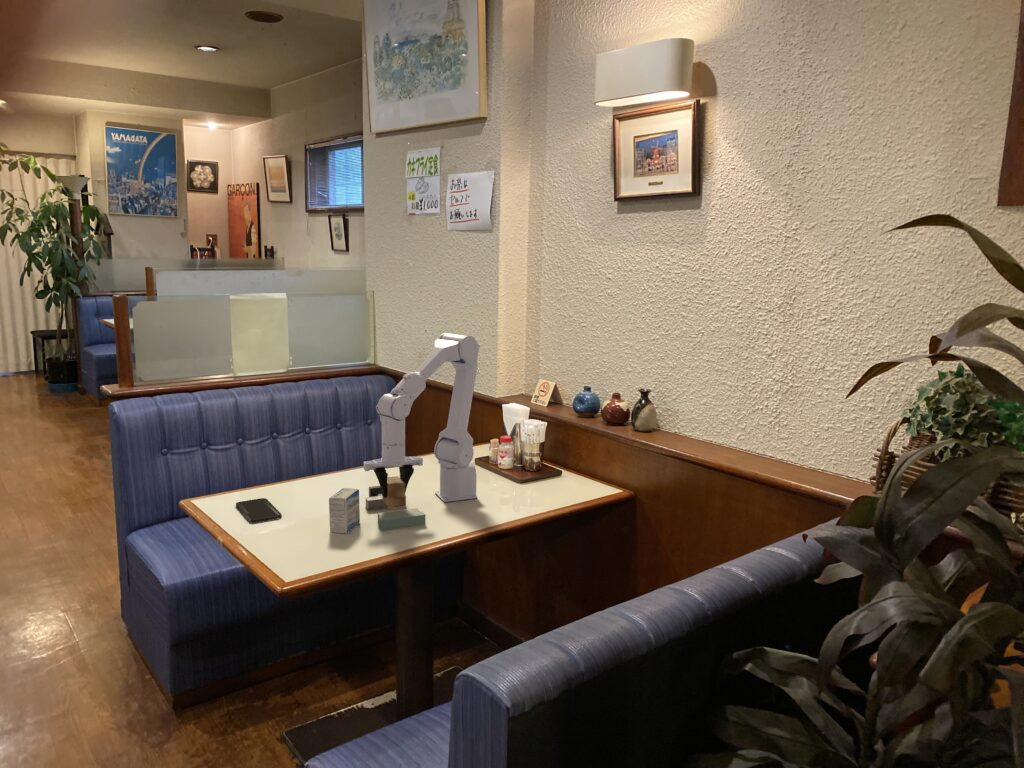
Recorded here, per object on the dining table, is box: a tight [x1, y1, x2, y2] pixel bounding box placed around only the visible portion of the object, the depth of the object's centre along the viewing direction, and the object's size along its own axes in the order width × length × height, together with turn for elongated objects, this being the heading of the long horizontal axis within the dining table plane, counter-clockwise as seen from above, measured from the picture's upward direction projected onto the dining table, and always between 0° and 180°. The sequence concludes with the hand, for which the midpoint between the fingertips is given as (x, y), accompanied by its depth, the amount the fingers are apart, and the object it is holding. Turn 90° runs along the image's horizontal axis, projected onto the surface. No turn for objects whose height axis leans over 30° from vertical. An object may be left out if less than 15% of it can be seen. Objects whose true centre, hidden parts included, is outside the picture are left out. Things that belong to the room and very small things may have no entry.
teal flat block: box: [377, 507, 426, 531], centre depth 187 cm, size 11×5×2 cm, turn 115°
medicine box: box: [328, 487, 361, 534], centre depth 183 cm, size 8×4×9 cm, turn 168°
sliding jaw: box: [365, 485, 407, 511], centre depth 201 cm, size 10×9×3 cm
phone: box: [235, 497, 282, 524], centre depth 193 cm, size 8×1×15 cm
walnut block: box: [383, 475, 406, 509], centre depth 191 cm, size 4×6×6 cm, turn 25°
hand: (393, 495), depth 191 cm, fingers closed on walnut block, 4 cm apart
